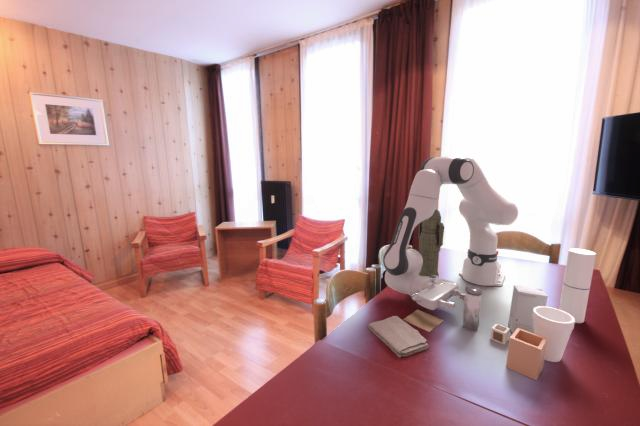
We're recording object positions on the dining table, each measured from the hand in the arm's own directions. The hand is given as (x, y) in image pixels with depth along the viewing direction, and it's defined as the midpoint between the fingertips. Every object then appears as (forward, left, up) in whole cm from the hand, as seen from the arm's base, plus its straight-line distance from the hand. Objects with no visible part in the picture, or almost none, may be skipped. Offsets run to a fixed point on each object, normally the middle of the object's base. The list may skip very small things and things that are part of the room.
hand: (460, 301), depth 102 cm
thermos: (-19, -22, -8) cm, 30 cm away
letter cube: (0, +13, -8) cm, 15 cm away
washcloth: (+23, -10, -9) cm, 27 cm away
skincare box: (-11, +17, -8) cm, 22 cm away
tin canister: (0, +4, -8) cm, 9 cm away
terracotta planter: (+9, +22, -8) cm, 25 cm away
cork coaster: (+8, -9, -8) cm, 14 cm away
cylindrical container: (-33, +26, -8) cm, 43 cm away
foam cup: (-2, +25, -8) cm, 26 cm away
